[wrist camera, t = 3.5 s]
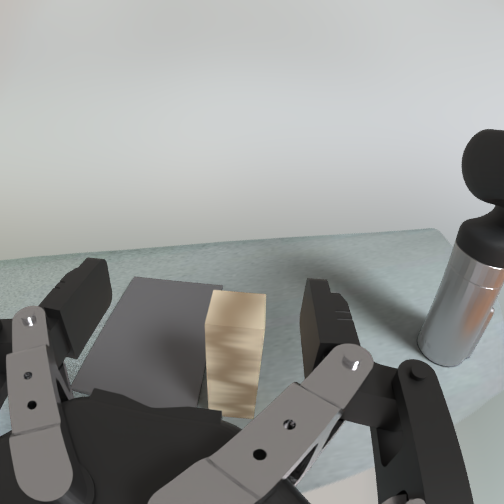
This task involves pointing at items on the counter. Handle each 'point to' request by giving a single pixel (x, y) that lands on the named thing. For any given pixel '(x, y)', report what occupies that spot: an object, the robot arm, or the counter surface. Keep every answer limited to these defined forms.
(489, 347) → the counter surface
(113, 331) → the mat
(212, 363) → the wooden block
